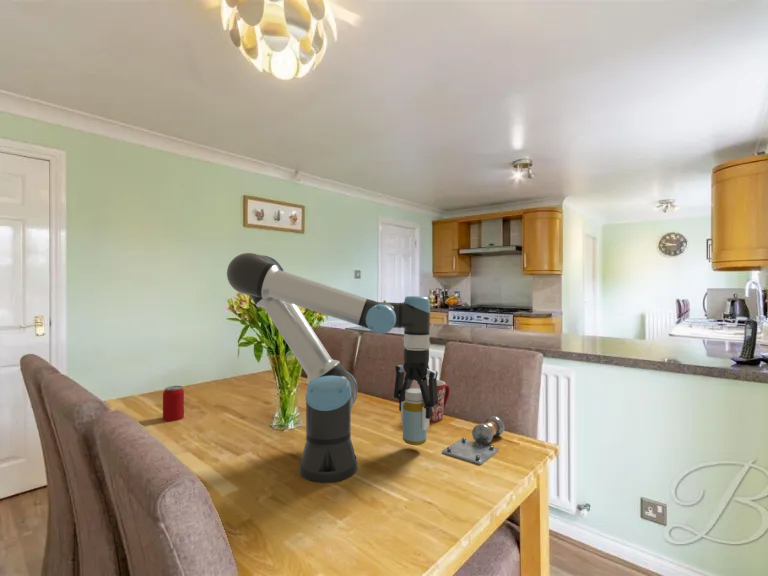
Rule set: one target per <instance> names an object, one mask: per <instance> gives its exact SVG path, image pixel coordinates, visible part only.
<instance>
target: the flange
mask: <svg viewBox="0 0 768 576" xmlns="http://www.w3.org/2000/svg"><path fill="white" fill-rule="evenodd" d="M505 428H506V427H505V423H504V421H503V420H502V419H501V418H500V417H499V416H496V415H493V416H490V417H489V418H486V420H485V421H484V423H479V424H477V425H475V426H474V427H473V428H472V432H471V435H472V438H473V440H474V441H473V440H469V439H466V437H462V438H461V439H459V440H457V441H455V442H454V443H452V444H451V445H449V446H447V447H446V448H445V449H442V451H441V453H442V454H444V455H447V456H450V457H453V458H457V459H460V460H463V461H467V462H469V463H473V464H476V465H478V466H481V465H483V464H484V463H485V462H487V461H488V460H489V459H490V458H492V457H493V456H494V455H496V454H497V453H498V452H499V448H497V447H495V446H494V445H492V444H490V445H488V444H489V443H491V442H492V441H493V439H494V436H496V438H497V437H499V436H501V435H502V434H504V431H505Z"/></svg>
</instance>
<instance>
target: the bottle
mask: <svg viewBox="0 0 768 576" xmlns="http://www.w3.org/2000/svg"><path fill="white" fill-rule="evenodd" d="M424 406H425V404H424V401H423V397H422V393H421V390H420V387H418V388H417V387H410V388H409V389H406V390H405V403H404V407H403V424H402V440H403V441H404V442H405V443H406V444H407V445H411V446H422V445H423V444H425V443H426V441H427V432H428V431H427V430H428V429H426V430H422V407H424Z"/></svg>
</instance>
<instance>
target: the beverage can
mask: <svg viewBox="0 0 768 576" xmlns="http://www.w3.org/2000/svg"><path fill="white" fill-rule="evenodd" d="M184 417H185V391H184V389H183V387H182V385H173V386H172V385H169V386H166V387H165V388H164V391H163V393H162V421H163V422H166V423H167V422H176V421H180V420H182V419H184Z"/></svg>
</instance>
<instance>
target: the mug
mask: <svg viewBox="0 0 768 576" xmlns="http://www.w3.org/2000/svg"><path fill="white" fill-rule="evenodd" d="M436 380H437V393H438V405H436V406H434V407H432V417H431V418H430V419H429V422H434V421H435V422H440V420H441V421H443V419H444V408H445V406H446V404H447V402H448V399H449V396H450V387H449V385H448V384H446V381H443V380H441V379H440V380H438V379H436ZM427 384H428V388H429V379H427Z"/></svg>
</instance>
